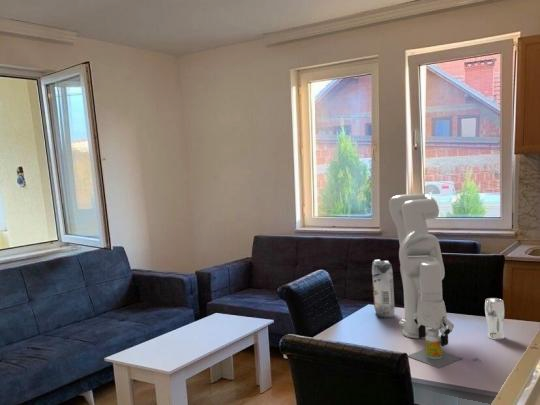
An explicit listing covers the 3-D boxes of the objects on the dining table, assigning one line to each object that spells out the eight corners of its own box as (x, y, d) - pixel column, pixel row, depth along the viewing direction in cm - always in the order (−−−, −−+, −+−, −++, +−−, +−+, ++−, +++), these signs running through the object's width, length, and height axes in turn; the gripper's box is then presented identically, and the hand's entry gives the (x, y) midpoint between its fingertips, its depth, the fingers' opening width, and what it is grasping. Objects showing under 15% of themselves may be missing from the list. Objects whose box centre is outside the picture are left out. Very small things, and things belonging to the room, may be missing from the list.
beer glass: (507, 340, 178) (506, 302, 177) (488, 340, 179) (487, 302, 178) (502, 334, 184) (501, 297, 184) (484, 333, 186) (482, 297, 185)
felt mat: (407, 356, 169) (407, 355, 169) (430, 347, 175) (430, 346, 175) (439, 368, 157) (439, 367, 157) (462, 358, 164) (462, 357, 164)
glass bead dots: (471, 360, 162) (471, 359, 162) (476, 357, 163) (476, 357, 163) (478, 362, 160) (478, 361, 160) (482, 360, 161) (482, 359, 161)
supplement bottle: (424, 357, 166) (423, 331, 165) (428, 352, 170) (427, 327, 169) (440, 360, 162) (438, 333, 162) (443, 355, 167) (442, 329, 166)
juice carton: (392, 311, 223) (389, 257, 222) (395, 318, 213) (392, 261, 211) (373, 312, 224) (370, 258, 223) (376, 318, 214) (373, 262, 212)
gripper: (405, 293, 170) (407, 337, 172) (445, 303, 156) (447, 351, 157) (418, 288, 174) (420, 332, 176) (458, 298, 160) (460, 345, 161)
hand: (433, 341), depth 166 cm, fingers open, 9 cm apart
